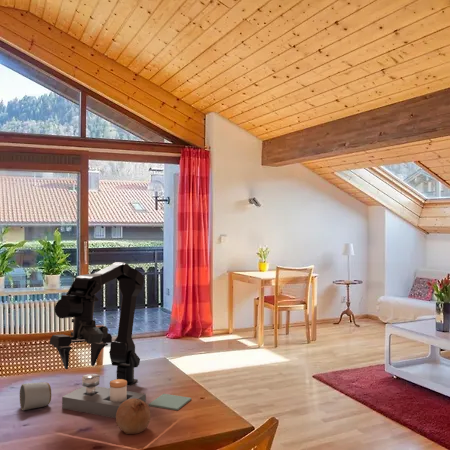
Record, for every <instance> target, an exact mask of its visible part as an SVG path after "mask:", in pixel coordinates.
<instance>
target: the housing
mask: <svg viewBox="0 0 450 450" xmlns="http://www.w3.org/2000/svg"><path fill="white" fill-rule="evenodd" d="M146 397H147V396H146V393H142V392H136V391H130V390H127V400H128V399H132V398H136V399H140V400H142V401H144V402H145V403H146V401H147V400H146ZM61 400H62V401H61V406H62V407H61V409H63V410H67V411H68V410H70V411H74V412H75V411H76V412H80V413H86V414H89V415H90V414H91V415H95V416H96V415H97V416H102V417H107V418H108V417H109V418H114V419H116V413H117V410H118V408H119V406H120V405H121V404H122V403H123V402H122V403H119V402H113V401H110V387H103V386H99V385H97V386H95V395H93V396H90V395H86V387H84V386H81V387H79V388H77V389H75V390H73V391H71V392H69V393H67V394H65V395H63V396H62V397H61ZM146 404H147V403H146Z"/></svg>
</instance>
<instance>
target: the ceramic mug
mask: <svg viewBox="0 0 450 450" xmlns="http://www.w3.org/2000/svg"><path fill="white" fill-rule="evenodd" d="M51 402H52V387H51V385H50V383H48V382H44V381H43V382H42V381H40V382H30V383H22V384H21V385H20V389H19V405H20V408H21V410H22V411H28V410H34V409H38V408H43V407H46V406H49V405H50V404H51Z"/></svg>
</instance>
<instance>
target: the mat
mask: <svg viewBox="0 0 450 450" xmlns="http://www.w3.org/2000/svg"><path fill="white" fill-rule="evenodd" d="M190 401H192V397H189V396H188V397H187V396H183V395H182V396H181V395H175V394H169V393H162V394H161V395H159V396H158V397H157V398H155V399H154V400H152V401H151V402H150V403H148V404H147V405H148V407H154V408H159V409H166V410H171V411H176V412H177V411H178V410H180V409H181V408H183V407H184V406H185V405H186V404H188V403H189V402H190Z"/></svg>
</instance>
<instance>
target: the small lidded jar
mask: <svg viewBox="0 0 450 450" xmlns="http://www.w3.org/2000/svg"><path fill="white" fill-rule="evenodd" d="M127 386H128V385H127V381H126V380H124V379H117V378H116V379H113V380H111V381H109V388H110V401H113V402H119V403H122V402H124V401H126V400H127V391H128V390H127V389H128V388H127Z"/></svg>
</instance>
